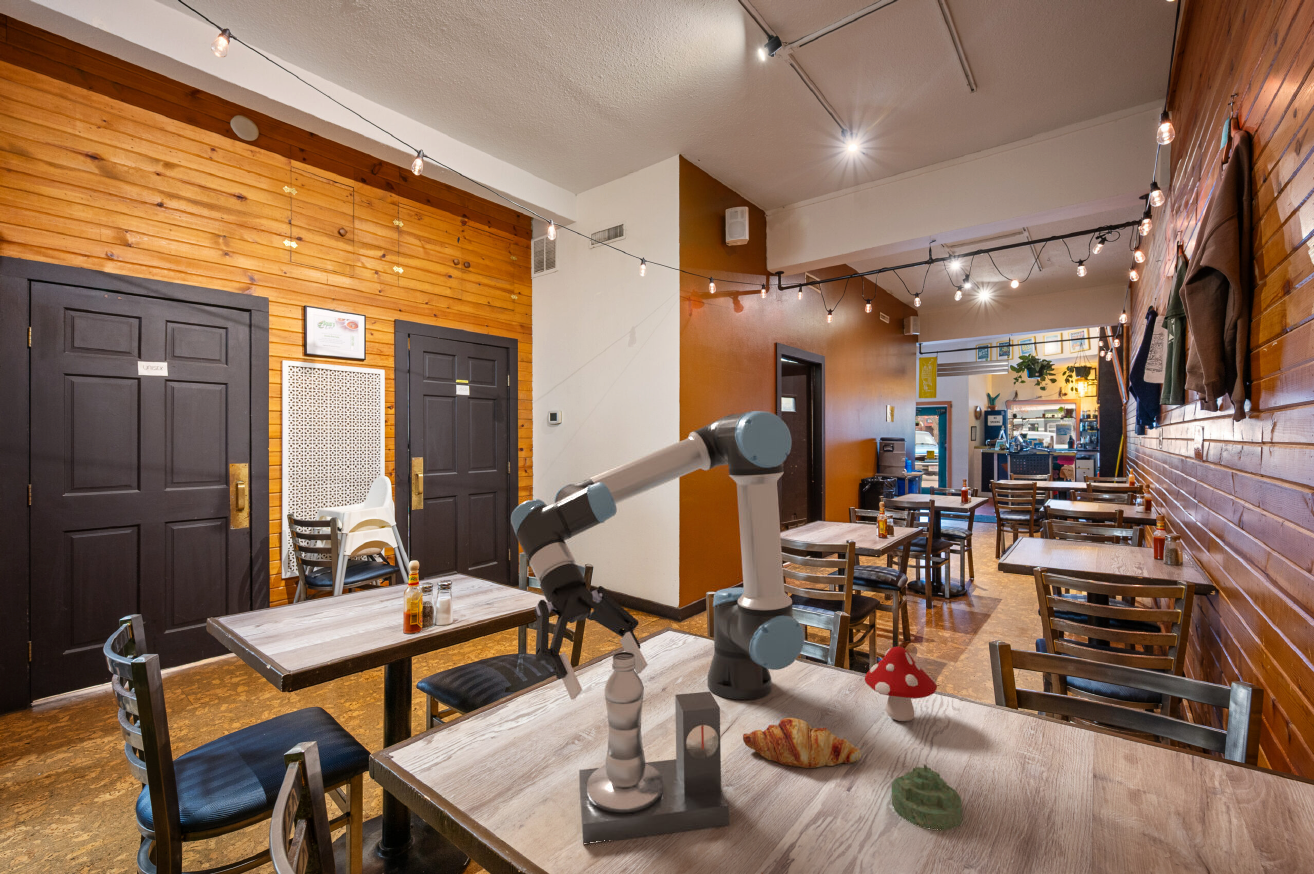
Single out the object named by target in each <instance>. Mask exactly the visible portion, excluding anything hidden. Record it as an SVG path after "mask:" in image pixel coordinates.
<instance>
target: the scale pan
mask: <svg viewBox="0 0 1314 874" xmlns="http://www.w3.org/2000/svg"><path fill="white" fill-rule="evenodd" d="M598 768H599V769H597V770H596V771H595V772H594V773H593V774H592V775H591V776H590V777H589V779H588V783H587V794H588V797H589V799H590V801H591V802H592V803H593V804H594V805H596V806H597V807H599V808H601V809H604V810H607V811H611V812H633V811H638V810H641V809H644V808H646V807H648V806H650V805H652V804H653V803H654V802H656V801H657V800H658V798H659V797H660V796H661V793H662V790H663V780H662V776H661V774H660V773H659V772H658V771H657V770H656V769H655V768H654V767H652V766H650V765H648V764H646V766H645V773H644V776H643V778H642V779H641V781H640V782H639V783H638V784H636V785H634V786H631V787H618V786H615V785H613V784H612V783H611V782H610V780H609V779H608V777H607V773H606V767H605V765H603V766H601V767H598Z"/></svg>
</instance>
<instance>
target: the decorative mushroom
mask: <svg viewBox="0 0 1314 874" xmlns="http://www.w3.org/2000/svg"><path fill="white" fill-rule="evenodd" d="M864 682H865V683H866V684H867V686H869V687H870V688H871V689H872V690H873V691H875V692H876V693H878V694H880V695H882V696H883V695H885V696H888V698H887V702H886V704H885V705H886V706H885V711H886V715H888V716H889V717H890V718H891V719H893V720H894V721H899V722H908V721H911V720H912V719H914V718H915V708H914V706H913V705H914V704H913V702H912V700H913V699H924V698H927V697H930V696H932V695H933V694H934V693H936V692H937V688H938V685H937V683H936V681H935V679H933V677H932V676H930V675H929V674H927V673H926V672H925V671H924V669H922V668H921V667H920V665H919V664H918V663H917V662H916V661H915V660H914V658H913V657H912V655H911V654H910V653H909V652H908V650H906V648H904V647H901V646H894V647H890V648H888V649H887V650H886V651H885V654H884V657H882V659H881V660H879V661H878V662H877V663H875V664H874V665H873V666H872V667H871V668H870V669H869V670H868V671H867V672H866V673H865V675H864Z"/></svg>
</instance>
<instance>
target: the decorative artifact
mask: <svg viewBox="0 0 1314 874" xmlns="http://www.w3.org/2000/svg"><path fill="white" fill-rule="evenodd" d="M891 805H892V808H893V807H894V808H893V810H894V811H895V812H896V814H898V816H900V817H901V818H902V817H903V818H902V819H904V820H905V819H906V822H909V821H910V822H911V824H912V823H913V825H915V824H916V825H915V826H917V825H919V826H918V827H920V826H921V828H923V827H925V828H924V829H927V828H930V829H929V830H931V829H936V830H935V831H946V830H945V829H950V830H953V829H955V827H956V828H957V827H958V826H960V825H961V823H962V821H963V805H962V798H961V795H960V794H959V792H958V791H956V790H955V788H953V787H952V786H950V785H948V783H947V782H946V781H945V780H944V779H943V778H942V777H941V774H940V772H939V773H938V772H936V771H934V770H932V768H930V767H928V766H927V764H925V763H924V764H923V767H920V766H917V767H913V768H912V771H911V770H910V771H908V772H906V773H905V774H904V775H902V776H898V777H897V778H895V779H894V780H892V782H891ZM910 822H909V823H910ZM952 828H953V829H952ZM937 829H938V830H937ZM940 829H941V830H940Z"/></svg>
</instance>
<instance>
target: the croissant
mask: <svg viewBox="0 0 1314 874" xmlns="http://www.w3.org/2000/svg"><path fill="white" fill-rule="evenodd" d="M742 741H743V743H744V745H745V746H746V747H748V748H749V749H752V750H753V751H755V752H756V753H758V754H759V755H760V756H761V757H763V758H764V759H766V760H769V761H774V762H777V763H779V764H782V765H783V766H789V767H799V768H804V769H811V768H812V769H813V768H814V769H815V768H820V767H824V766H828V767H833V766H836V765H840V764H842V763H845V764H851V763H854V762H855V763H856V762H857V761H858V760H860V759H861V756H862V751H861V750H860V749H859V748H856V747H855V746H854V745H853V744H852V743H851V742H850V741H848V739H846V738H839V737H838V736H837V735H836V734H833V732H831V730H829V729H828V728H827V727H820V728H817V727H814V728H813V727H812V726H810V725H809V723H808V722H807V721H805V720H804V719H800V718H795V717H787V718H785V717H784V718H783V719H780V720H779V723H778V724H769V725H768V726H767V727H766V729H764V730H762V729H755V730H753V731H752V732H750V733H744V734H743V735H742Z"/></svg>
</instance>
